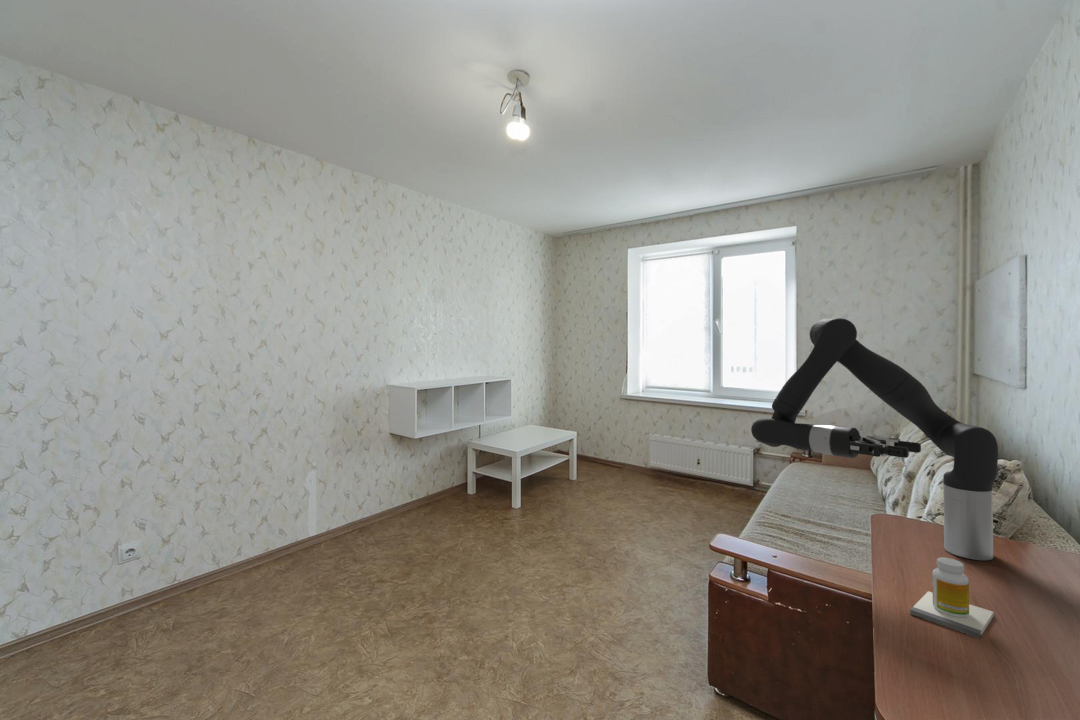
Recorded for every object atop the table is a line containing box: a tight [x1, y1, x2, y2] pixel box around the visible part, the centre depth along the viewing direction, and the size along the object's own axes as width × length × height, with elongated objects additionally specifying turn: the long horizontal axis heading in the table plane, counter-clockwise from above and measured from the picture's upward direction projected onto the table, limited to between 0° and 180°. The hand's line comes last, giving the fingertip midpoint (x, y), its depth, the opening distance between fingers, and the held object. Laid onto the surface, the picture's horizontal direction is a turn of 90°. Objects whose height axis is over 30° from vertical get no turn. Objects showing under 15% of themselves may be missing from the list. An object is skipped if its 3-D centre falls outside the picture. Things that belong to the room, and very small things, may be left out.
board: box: [909, 590, 995, 639], centre depth 89 cm, size 12×10×1 cm
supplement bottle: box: [931, 557, 970, 617], centre depth 89 cm, size 5×5×10 cm
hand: (914, 450), depth 102 cm, fingers open, 8 cm apart
